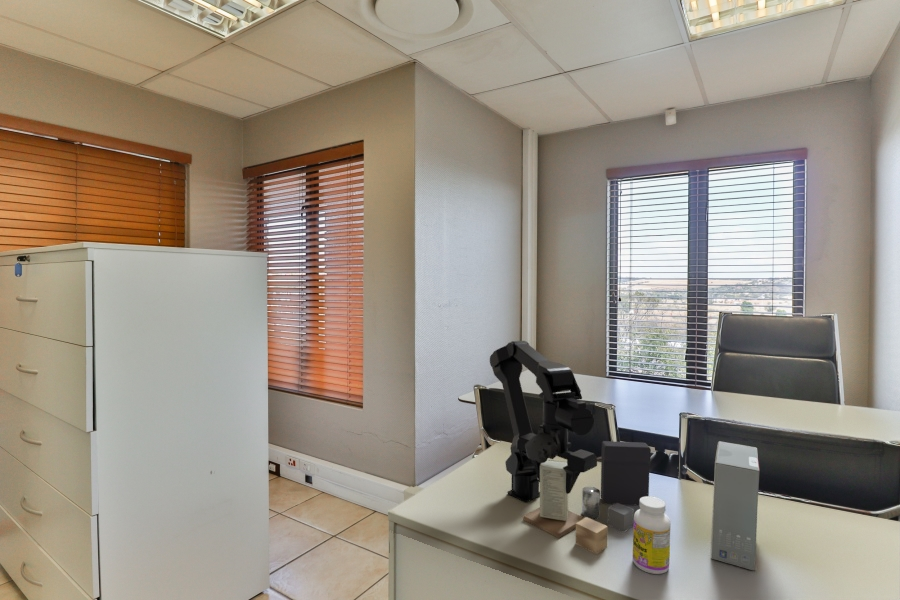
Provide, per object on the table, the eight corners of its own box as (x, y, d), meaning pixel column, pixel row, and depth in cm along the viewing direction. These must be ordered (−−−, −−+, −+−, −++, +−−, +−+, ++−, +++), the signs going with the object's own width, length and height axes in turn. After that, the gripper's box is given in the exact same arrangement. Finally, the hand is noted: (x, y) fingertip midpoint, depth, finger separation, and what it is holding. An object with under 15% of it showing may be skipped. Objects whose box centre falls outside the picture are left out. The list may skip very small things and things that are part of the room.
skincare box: (568, 512, 109) (569, 462, 109) (566, 522, 105) (567, 469, 104) (541, 508, 111) (542, 458, 111) (538, 517, 107) (539, 465, 106)
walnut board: (523, 519, 109) (523, 515, 109) (549, 506, 115) (549, 502, 115) (559, 538, 101) (559, 533, 101) (585, 522, 108) (585, 517, 108)
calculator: (643, 499, 119) (645, 441, 118) (649, 507, 115) (650, 447, 114) (599, 496, 120) (601, 439, 119) (603, 505, 116) (604, 445, 115)
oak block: (575, 543, 99) (575, 523, 99) (586, 537, 102) (586, 516, 102) (596, 554, 95) (596, 533, 95) (607, 547, 98) (607, 526, 98)
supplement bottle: (626, 555, 95) (627, 494, 94) (657, 554, 95) (659, 493, 95) (642, 576, 88) (644, 510, 88) (676, 575, 89) (678, 509, 88)
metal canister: (578, 514, 111) (579, 489, 111) (588, 509, 114) (588, 485, 114) (593, 521, 108) (594, 495, 108) (602, 515, 111) (603, 490, 111)
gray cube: (607, 525, 107) (607, 508, 107) (616, 519, 109) (617, 502, 109) (623, 532, 104) (624, 514, 104) (632, 526, 106) (633, 509, 106)
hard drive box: (755, 573, 90) (759, 471, 88) (710, 560, 94) (713, 462, 93) (754, 535, 103) (757, 446, 102) (714, 525, 107) (716, 439, 106)
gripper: (501, 418, 109) (500, 483, 110) (569, 440, 95) (568, 514, 96) (531, 409, 116) (531, 471, 117) (599, 428, 102) (597, 497, 103)
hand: (554, 487), depth 108 cm, fingers closed on skincare box, 7 cm apart
